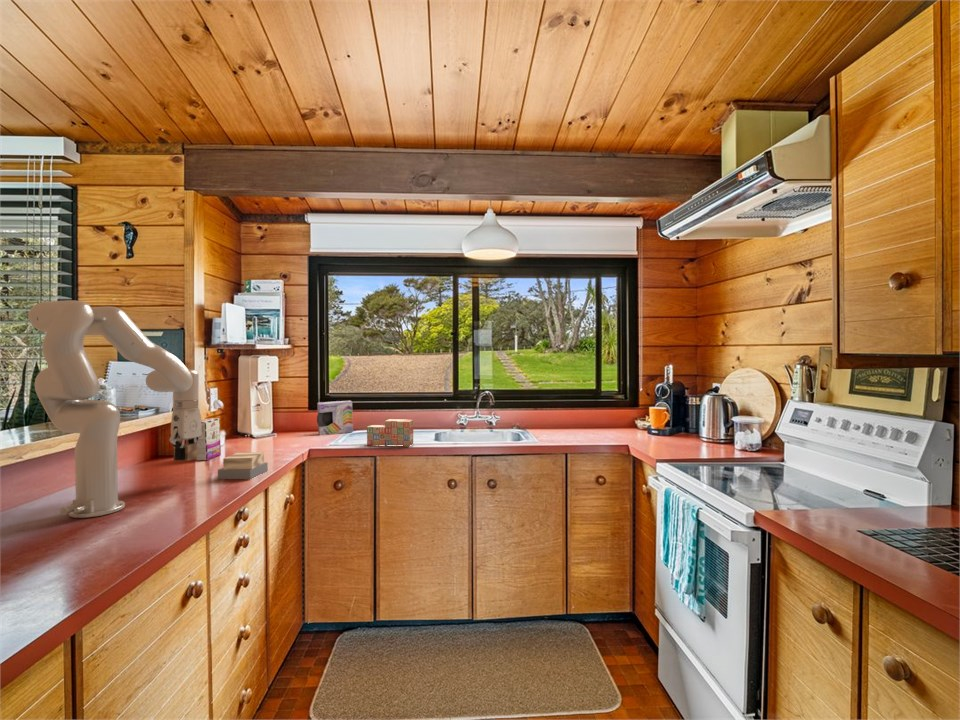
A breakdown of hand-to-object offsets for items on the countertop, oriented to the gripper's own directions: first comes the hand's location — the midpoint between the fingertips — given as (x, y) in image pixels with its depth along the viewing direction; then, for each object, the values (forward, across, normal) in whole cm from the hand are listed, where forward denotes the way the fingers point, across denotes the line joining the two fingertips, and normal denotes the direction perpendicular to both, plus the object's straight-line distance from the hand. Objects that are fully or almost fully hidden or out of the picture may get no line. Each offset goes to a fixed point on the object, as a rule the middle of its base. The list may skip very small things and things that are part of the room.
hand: (185, 457), depth 168 cm
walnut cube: (+1, 0, 0) cm, 1 cm away
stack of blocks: (+7, +70, -54) cm, 89 cm away
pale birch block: (+5, +12, -14) cm, 19 cm away
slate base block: (+9, +12, -14) cm, 20 cm away
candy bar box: (+8, +40, +18) cm, 44 cm away
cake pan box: (+6, +103, -14) cm, 104 cm away
